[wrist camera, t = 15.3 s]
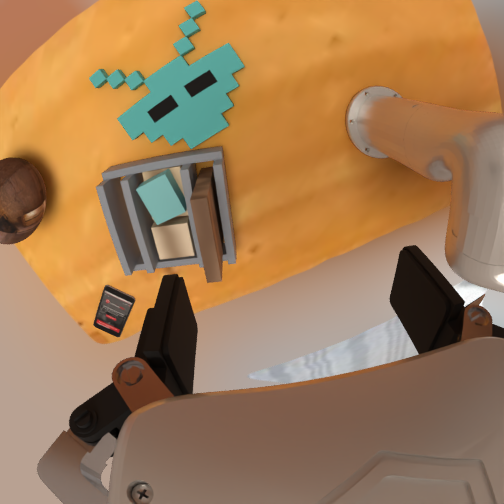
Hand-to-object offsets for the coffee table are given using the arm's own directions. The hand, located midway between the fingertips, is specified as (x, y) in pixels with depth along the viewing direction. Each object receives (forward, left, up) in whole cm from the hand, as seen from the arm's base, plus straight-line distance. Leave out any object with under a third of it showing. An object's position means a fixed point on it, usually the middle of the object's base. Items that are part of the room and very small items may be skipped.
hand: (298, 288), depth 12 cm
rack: (+14, +10, -36) cm, 40 cm away
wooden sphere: (+42, 0, -36) cm, 56 cm away
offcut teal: (+14, +6, -33) cm, 36 cm away
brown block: (+7, +10, -36) cm, 38 cm away
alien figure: (+10, -10, -37) cm, 40 cm away
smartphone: (+34, +32, -37) cm, 60 cm away
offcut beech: (+14, +14, -36) cm, 41 cm away
